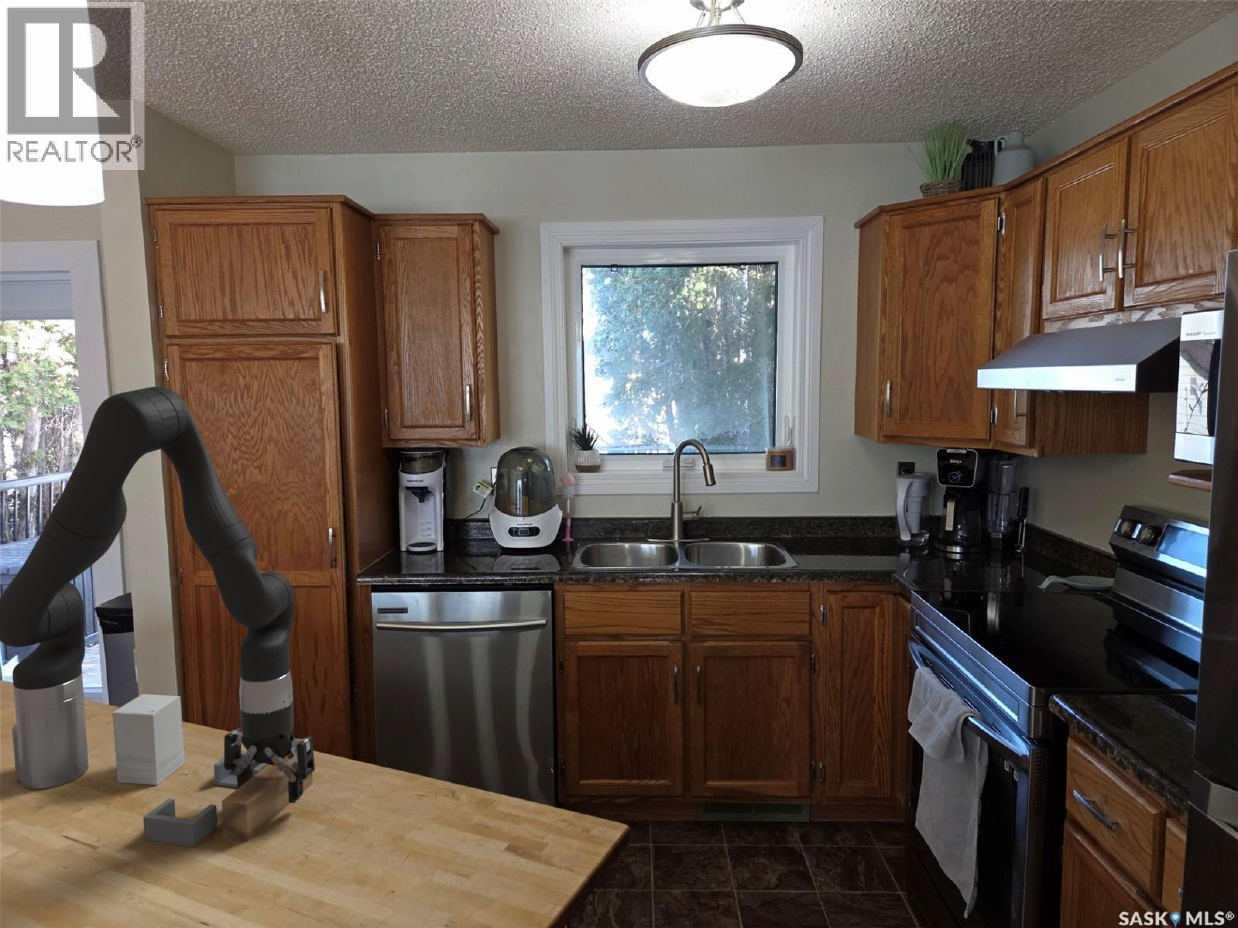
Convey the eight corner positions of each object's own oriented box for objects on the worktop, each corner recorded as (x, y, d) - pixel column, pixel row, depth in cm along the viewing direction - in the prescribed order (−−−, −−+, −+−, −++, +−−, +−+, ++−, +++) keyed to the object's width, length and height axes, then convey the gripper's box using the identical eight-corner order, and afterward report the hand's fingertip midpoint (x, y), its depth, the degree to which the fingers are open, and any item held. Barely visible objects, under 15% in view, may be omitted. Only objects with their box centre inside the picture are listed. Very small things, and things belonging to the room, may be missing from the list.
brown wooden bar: (223, 837, 113) (221, 800, 112) (290, 781, 129) (289, 748, 128) (248, 842, 112) (246, 804, 111) (312, 784, 128) (311, 751, 127)
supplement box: (186, 763, 133) (182, 695, 131) (156, 786, 126) (152, 714, 124) (147, 760, 134) (143, 692, 132) (115, 782, 126) (110, 711, 125)
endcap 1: (144, 839, 112) (143, 817, 111) (170, 819, 117) (168, 798, 116) (193, 847, 110) (192, 824, 110) (217, 826, 115) (216, 804, 115)
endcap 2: (277, 774, 130) (276, 755, 129) (259, 790, 125) (258, 770, 125) (234, 769, 131) (233, 749, 131) (214, 784, 126) (213, 764, 126)
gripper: (209, 706, 115) (214, 805, 117) (293, 715, 113) (297, 816, 115) (241, 686, 123) (246, 779, 125) (321, 694, 120) (324, 789, 122)
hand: (270, 796), depth 120 cm, fingers open, 8 cm apart
